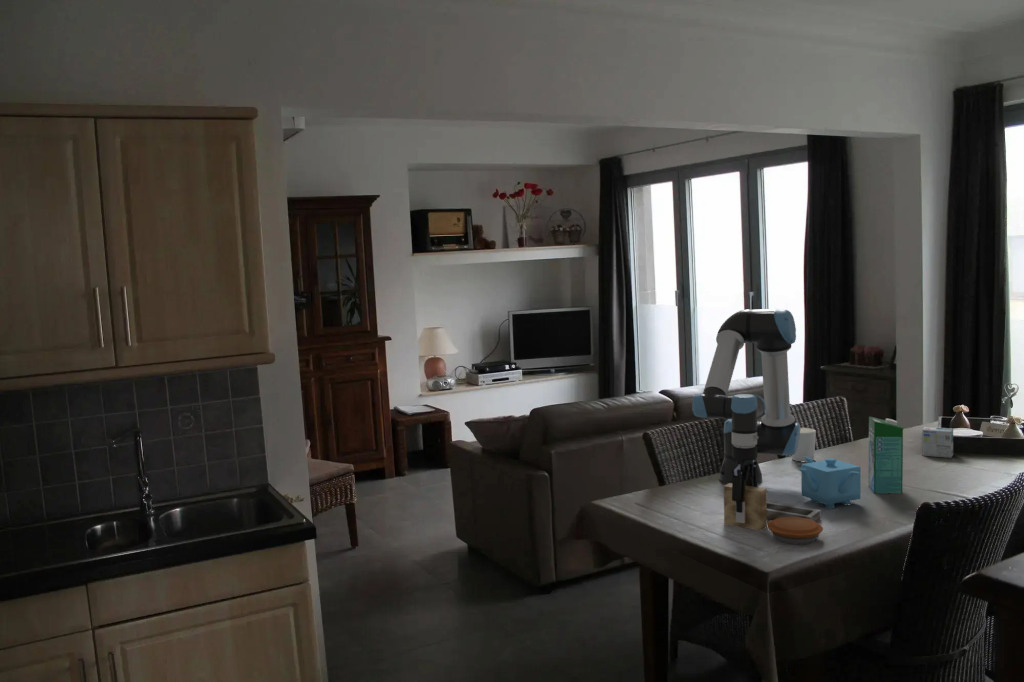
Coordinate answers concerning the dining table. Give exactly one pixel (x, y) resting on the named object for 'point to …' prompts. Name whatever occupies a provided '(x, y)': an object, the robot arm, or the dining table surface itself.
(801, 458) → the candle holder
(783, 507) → the tray
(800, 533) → the pie
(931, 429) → the light bulb box
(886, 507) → the dining table surface
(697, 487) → the dining table surface
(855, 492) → the blue lidded box
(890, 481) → the milk carton
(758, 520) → the beige square slab
